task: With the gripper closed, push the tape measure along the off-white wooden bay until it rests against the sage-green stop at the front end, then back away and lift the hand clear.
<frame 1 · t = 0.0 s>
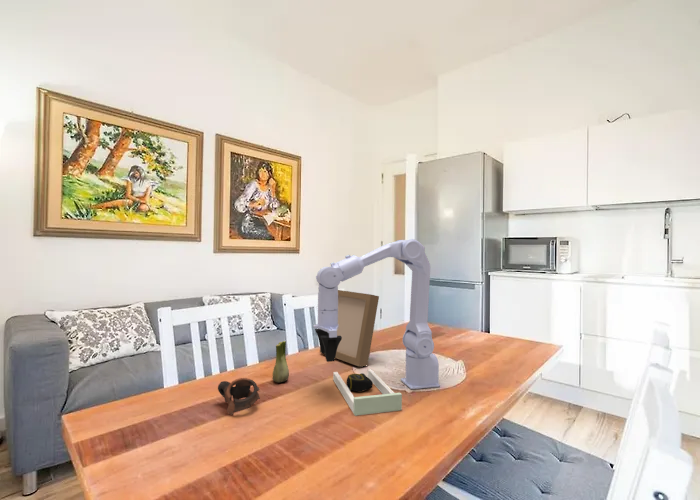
hand: (327, 357, 100), 10 cm above the table, fingers open, 7 cm apart
bay: (363, 393, 100), on the table
tape measure: (360, 389, 104), on the table
photo frame: (352, 358, 133), on the table
fennel bulb: (280, 381, 109), on the table
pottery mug: (238, 407, 91), on the table
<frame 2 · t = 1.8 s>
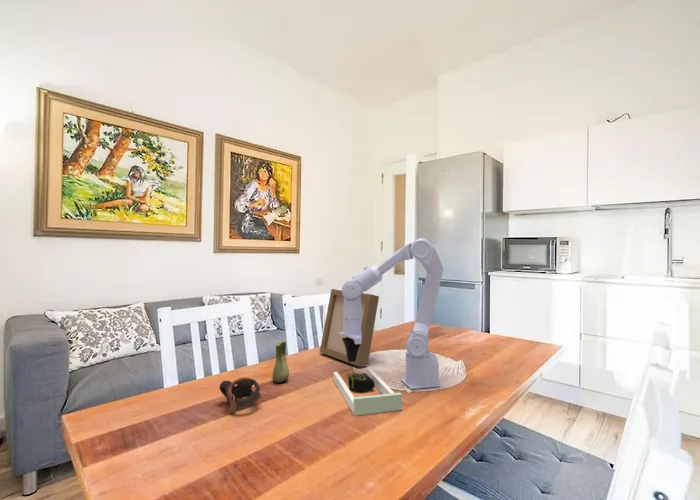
hand: (351, 361, 112), 5 cm above the table, fingers closed
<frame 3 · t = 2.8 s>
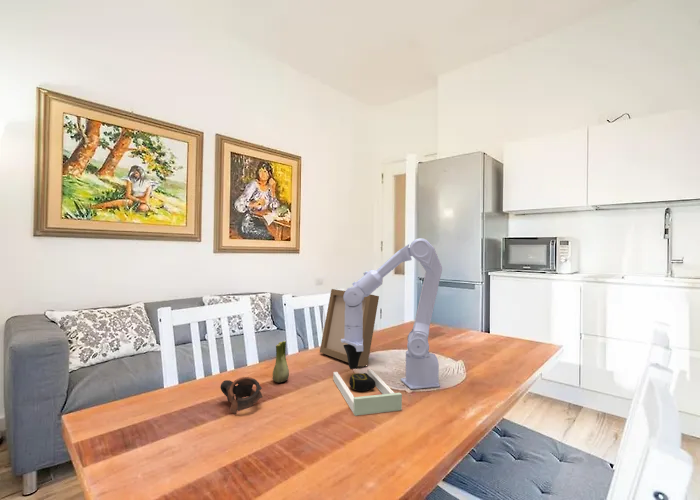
hand: (353, 368, 111), 3 cm above the table, fingers closed
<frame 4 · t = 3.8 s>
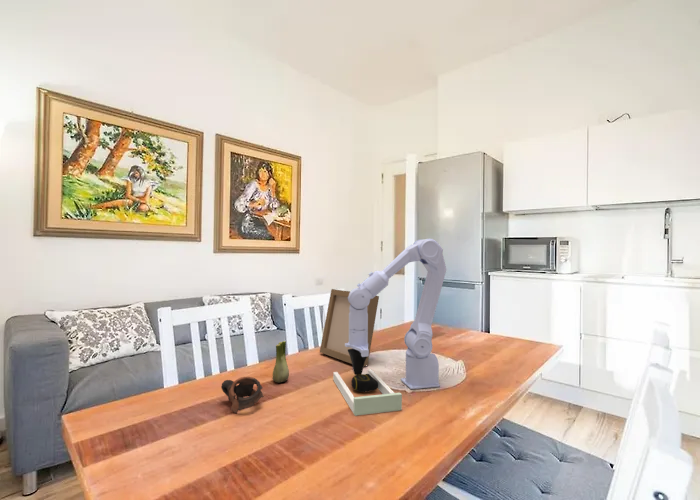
hand: (357, 373, 106), 3 cm above the table, fingers closed
tape measure: (365, 390, 103), on the table, touching gripper
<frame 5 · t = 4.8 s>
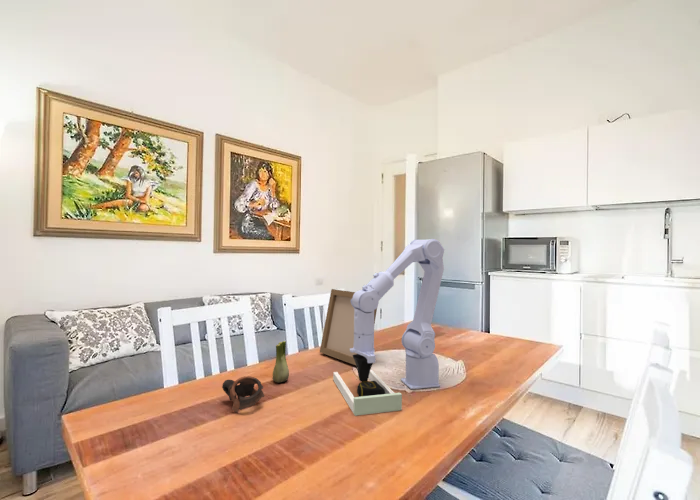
hand: (363, 380, 100), 3 cm above the table, fingers closed
tape measure: (371, 397, 97), on the table, touching gripper
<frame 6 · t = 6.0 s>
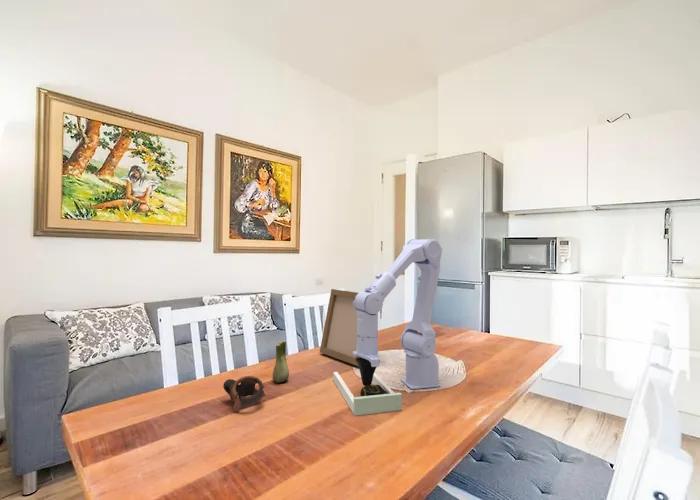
hand: (366, 384, 97), 3 cm above the table, fingers closed
tape measure: (375, 402, 94), on the table, touching gripper
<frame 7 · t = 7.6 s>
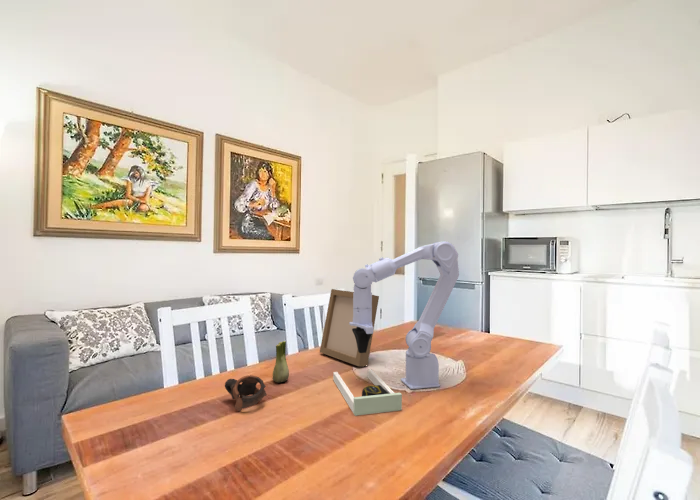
hand: (362, 352, 108), 9 cm above the table, fingers closed
tape measure: (376, 403, 95), on the table
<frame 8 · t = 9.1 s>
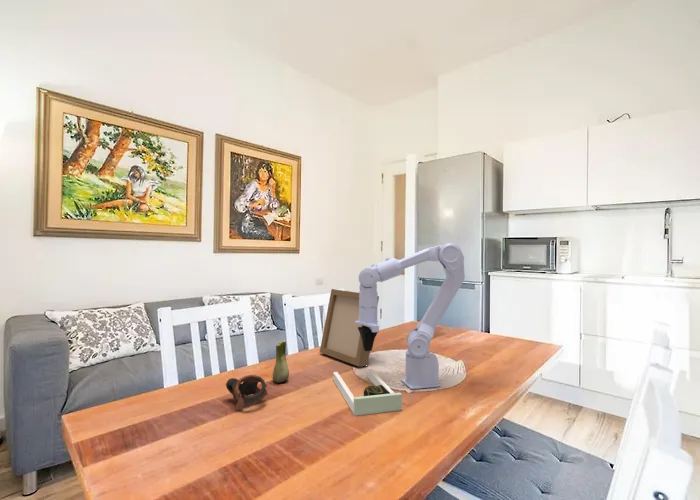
hand: (367, 350, 110), 9 cm above the table, fingers closed
at the end: tape measure 2.5 cm from the target spot, on the table; tape measure tilted 1°; tape measure moved 10.2 cm from its start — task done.
